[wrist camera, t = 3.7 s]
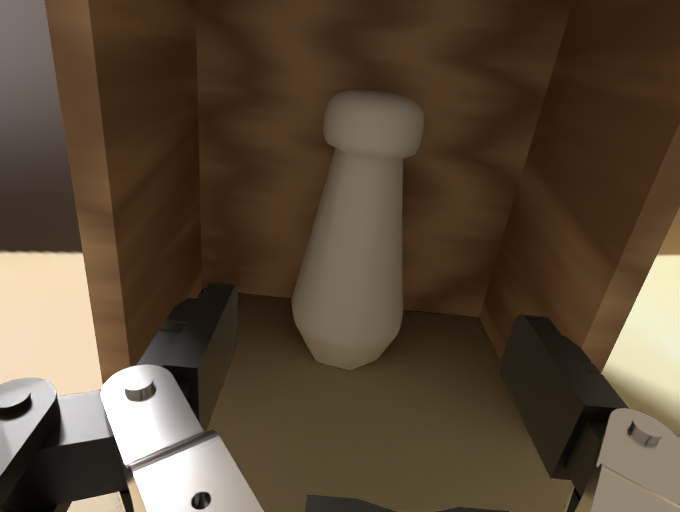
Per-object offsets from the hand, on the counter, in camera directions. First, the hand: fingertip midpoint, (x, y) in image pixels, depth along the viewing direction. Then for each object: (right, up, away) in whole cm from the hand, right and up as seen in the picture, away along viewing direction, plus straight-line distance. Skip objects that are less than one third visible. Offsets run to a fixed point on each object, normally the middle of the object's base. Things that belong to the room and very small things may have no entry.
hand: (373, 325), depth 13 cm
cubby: (-1, -3, +11) cm, 12 cm away
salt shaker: (-1, -3, +11) cm, 12 cm away
